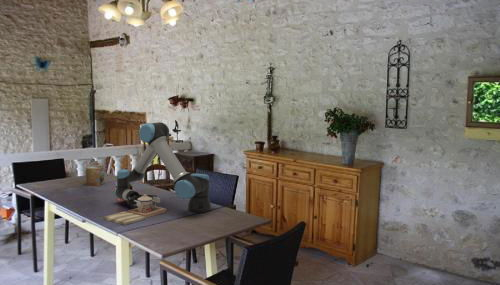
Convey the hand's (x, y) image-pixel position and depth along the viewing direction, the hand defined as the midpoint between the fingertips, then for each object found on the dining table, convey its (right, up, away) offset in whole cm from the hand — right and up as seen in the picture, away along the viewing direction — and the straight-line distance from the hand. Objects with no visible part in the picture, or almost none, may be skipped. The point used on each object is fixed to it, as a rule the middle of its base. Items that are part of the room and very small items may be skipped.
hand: (150, 202), depth 254 cm
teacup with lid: (-3, -7, +3) cm, 8 cm away
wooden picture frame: (-3, -7, +3) cm, 8 cm away
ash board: (-12, -8, -12) cm, 19 cm away
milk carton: (-63, +3, +79) cm, 101 cm away
